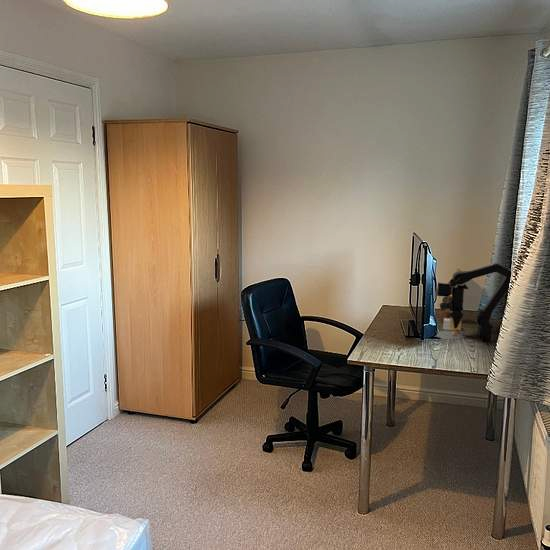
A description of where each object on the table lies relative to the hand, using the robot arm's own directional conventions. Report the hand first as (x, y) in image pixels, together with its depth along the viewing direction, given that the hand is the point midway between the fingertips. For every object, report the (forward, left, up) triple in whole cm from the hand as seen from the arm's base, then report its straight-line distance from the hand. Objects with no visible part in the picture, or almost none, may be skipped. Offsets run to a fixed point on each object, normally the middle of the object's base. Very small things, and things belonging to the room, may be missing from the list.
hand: (455, 327), depth 286 cm
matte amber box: (0, 0, -1) cm, 1 cm away
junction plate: (+3, +3, -6) cm, 7 cm away
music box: (+32, -24, -6) cm, 40 cm away
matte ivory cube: (+14, -8, -6) cm, 17 cm away
